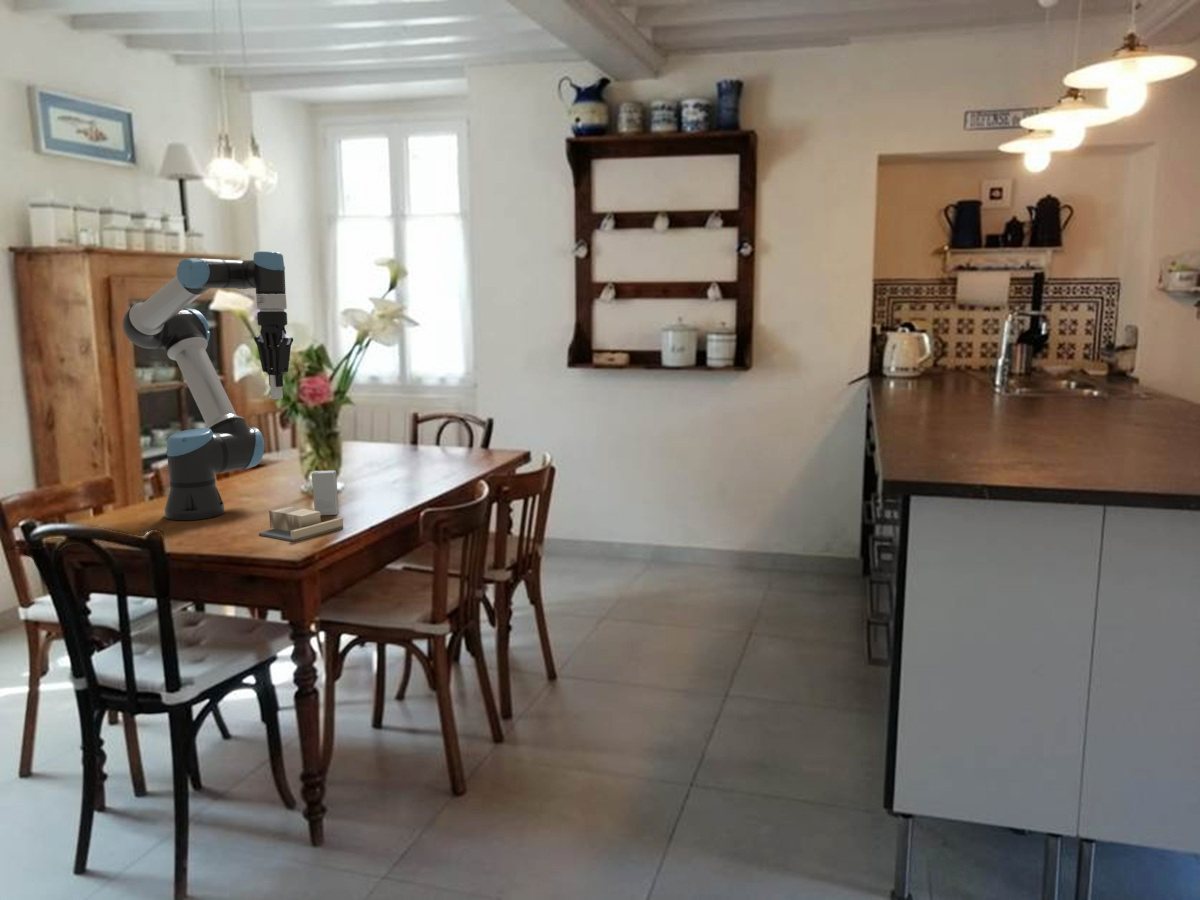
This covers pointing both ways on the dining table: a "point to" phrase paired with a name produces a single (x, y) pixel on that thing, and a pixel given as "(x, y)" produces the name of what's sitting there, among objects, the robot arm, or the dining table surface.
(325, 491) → the skincare box
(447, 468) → the dining table surface
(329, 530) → the slate mat
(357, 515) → the dining table surface
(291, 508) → the beech block
